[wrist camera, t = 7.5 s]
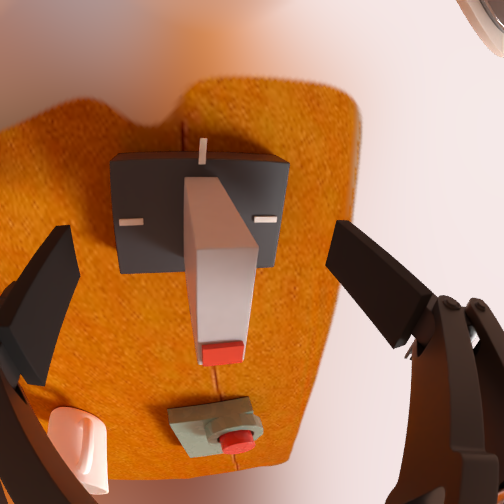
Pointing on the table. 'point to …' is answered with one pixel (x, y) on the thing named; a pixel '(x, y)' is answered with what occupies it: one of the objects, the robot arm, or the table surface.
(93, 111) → the table surface
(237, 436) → the button
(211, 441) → the housing
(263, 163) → the panel
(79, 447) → the mug
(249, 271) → the knob
